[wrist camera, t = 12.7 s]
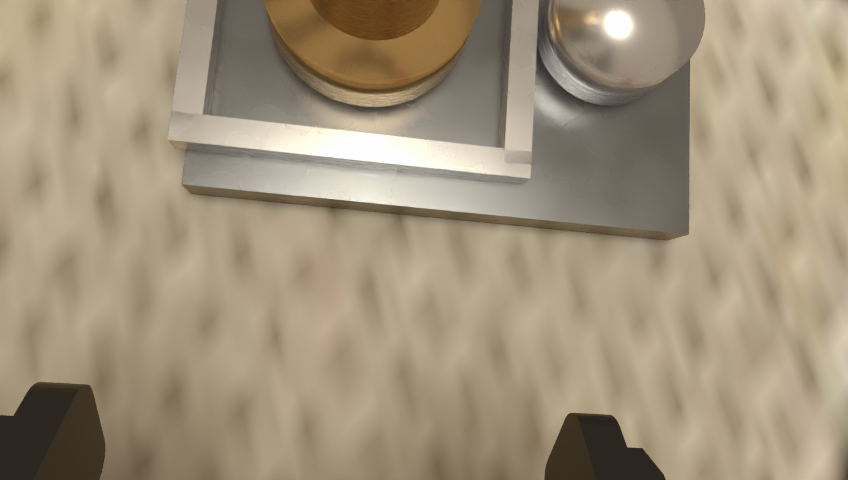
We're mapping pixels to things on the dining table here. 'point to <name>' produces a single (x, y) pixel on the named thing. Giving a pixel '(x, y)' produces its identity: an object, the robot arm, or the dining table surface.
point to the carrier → (459, 120)
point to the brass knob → (371, 45)
